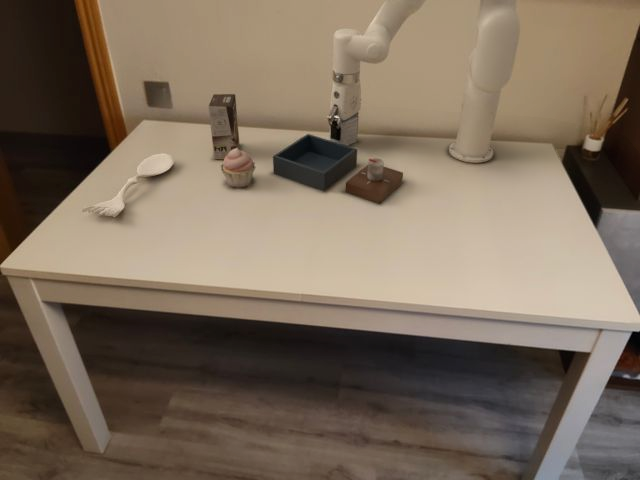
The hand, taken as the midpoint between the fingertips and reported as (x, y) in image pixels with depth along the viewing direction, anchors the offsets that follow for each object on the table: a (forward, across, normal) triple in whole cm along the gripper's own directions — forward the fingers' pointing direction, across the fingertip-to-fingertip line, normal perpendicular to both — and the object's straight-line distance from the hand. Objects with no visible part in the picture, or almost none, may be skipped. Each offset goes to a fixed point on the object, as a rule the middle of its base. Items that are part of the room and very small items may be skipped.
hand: (343, 133), depth 163 cm
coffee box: (+4, -24, +25) cm, 35 cm away
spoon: (+4, -53, +31) cm, 62 cm away
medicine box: (+4, 0, 0) cm, 4 cm away
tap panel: (+3, -17, -20) cm, 26 cm away
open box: (+3, -18, -2) cm, 18 cm away
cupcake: (+4, -35, +11) cm, 37 cm away
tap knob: (0, -17, -20) cm, 26 cm away
